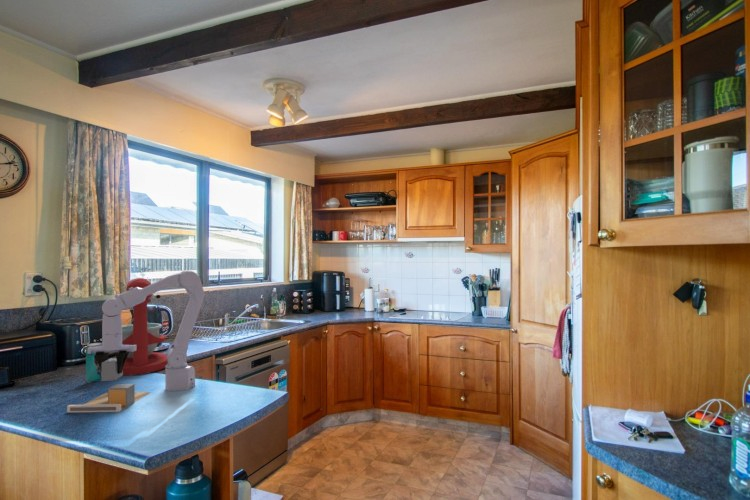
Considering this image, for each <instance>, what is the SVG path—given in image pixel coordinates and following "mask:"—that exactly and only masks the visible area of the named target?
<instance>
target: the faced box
mask: <svg viewBox="0 0 750 500" xmlns="http://www.w3.org/2000/svg"><path fill="white" fill-rule="evenodd" d="M135 386H136V385H135V383H121V384H120V383H119V384H117V383H116V384H114V385H112V386H110V387H108V389H107V390H108V391H107V393H108V404H121V407H126V408H127V407H128V408H129V405H130V406H131V405H133V404H135V403H136V402H135V392H136V391H135ZM134 402H135V403H134Z"/></svg>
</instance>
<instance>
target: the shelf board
mask: <svg viewBox="0 0 750 500" xmlns="http://www.w3.org/2000/svg"><path fill="white" fill-rule="evenodd" d="M151 393H152V392H150V391H147V392H146V391H145V392H142V391H138V392H136V391H135V402H134V403H133V404H135V403H136V402H138V401H139V400H141V399H143V398H144V397H146V396H148V395H149V394H151ZM87 404H108V392H105V393H103V394H101V395H99V396H97V397H95V398H92V399H90V400H89V401H87V402H85V403H82V405H87ZM129 406H131V405H129ZM129 406H128V407H129ZM126 408H127V407H121V411H123V410H125V409H126ZM66 412H67V411H66ZM68 413H72V414H73V413H77V412H67V414H68Z"/></svg>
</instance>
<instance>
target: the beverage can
mask: <svg viewBox="0 0 750 500" xmlns="http://www.w3.org/2000/svg"><path fill="white" fill-rule="evenodd" d="M96 346H102V342H92V343H88V344H86V348H85V381H86V382H87V383H88V384H89V383H92V382H95V381H101V382H103V381H102V372H101V369H100V366H99V364H98V362H97V361H96V359H95V358H94V355H96V353H91V354H87V348H89V347H96Z"/></svg>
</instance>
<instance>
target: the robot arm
mask: <svg viewBox="0 0 750 500" xmlns="http://www.w3.org/2000/svg"><path fill="white" fill-rule="evenodd" d="M180 286H181V287H182V288H183V289H185V291H186V293H187V294H188V296H189V300H188V302H187V305H186V308H185V311H184V312H183V313H184V314H183V316H182V319H181V321H180V324H179V328H178V330H177V333H176V336H175V338H174V340H173V342H172V344H171V346H170V347H169V348H168V349H167V350H166V353H165V354H166V358H167V360H168V364H167V365H166V366H165V368H164V370H165V373H164V374H165V379H164V380H165V390H166V391H169V392H170V391H171V392H172V391H189V390H190V389H191V388H193V387H194V386H195V385H196V370H195V367H194V366H192V365H188V362H187V360H188V354H187V353H188V349H189V343H190V340H191V337H192V333H193V331H194V329H195V328H194V327H195V326H196V325H195V324H196V322H197V319H198V316H199V313H200V310H201V308H202V306H203V302H204V299H205V296H206V295H205V291H204V287H203V283H202V279H201V278H200V277H199V275H198V274H197V273H196V272H195V271H192V270H186V269H185V270H183V271H181V272H177V273H174V274H170V275H167V276H166V277H163V278H161V279H159V280H158V281H155V282H153V283H151V285H149V286H147V287H144V288H139V287H135V288H133V287H131V288H129V291H124V292H122V293H119V294H117V293H116V294H114V295H113V296H114V297H111V298H108V299H106V300H105V301H104V302H103V304H102V306H101V310H102V322H101V323H102V324H101V325H102V327H101V328H102V329H101V330H102V331H101V332H102V334H101V335H102V336H101V338H102V339H101V341H102V342H101V343H102V346H96V347H89V348H87V347H86V348H87V354H91V353H96V355H94V358H95V359H96V361H97V362H98V364H99V366H100V369H101V372H102V362H104V361H106V360H108V359H109V353H115V358H116V359H117V373H118V374H120V373H122V371H123V366H124V363H125V361H126V358H127V357H128V355H129V353H130V351H131V352H134V351H136V345H122V326H123V319H122V312H123V310H129V309H131V308H133V306H135V305H137V304H139V303H142V302H144V301H145V299H146V297H147V296H148V295H150V294H155V293H157V292H160V291H161V290H164V289H166V288H170V287H175V288H176V287H180Z"/></svg>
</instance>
